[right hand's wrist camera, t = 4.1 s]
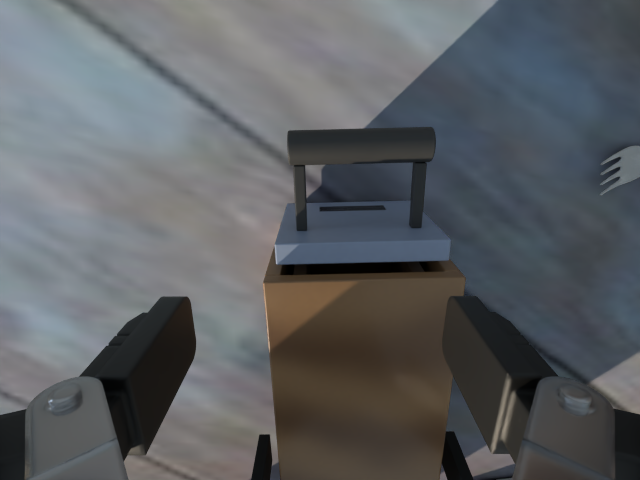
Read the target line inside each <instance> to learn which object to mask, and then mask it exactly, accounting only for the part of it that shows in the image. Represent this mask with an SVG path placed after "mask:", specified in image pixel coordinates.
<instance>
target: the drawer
mask: <svg viewBox="0 0 640 480" xmlns="http://www.w3.org/2000/svg"><path fill="white" fill-rule="evenodd" d="M435 145H436V138H435V132H434V129H433V128H432V127H412V128H372V129H332V130H293V131H288V135H287V147H288V160H289V164H290V165H294V167H293V171H294V191H295V203H289V204H287V207H286V210H285V213H284V216H283V220H282V223H281V226H280V229H279V232H278V236H277V239H276V242H275V257H276V264H277V265H287V264H295V266H294V272H293V275H319V274H361V273H404V272H425V271H424V270H423V268H422V267H421V265H420V263H419V262H418V261H448V260H449V256H450V247H451V239H450V238H449V237H448V236H447V235H446V234H445V233H444V232H443V231H442V230H441V229H440V228H439V227H438V226H437V225H436V224H435V223H434V222H433V221H432V220H431V219H430V218H429V217H428V216H427V215H426V214H425V213H424V212H423V204H424V191H425V179H426V166H427V163H426V162H430V161H431V160H432V159H433V156H434V153H435ZM406 162H413V172H412V187H411V201H371V202H330V203H306V178H305V165H325V164H366V163H406Z"/></svg>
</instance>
